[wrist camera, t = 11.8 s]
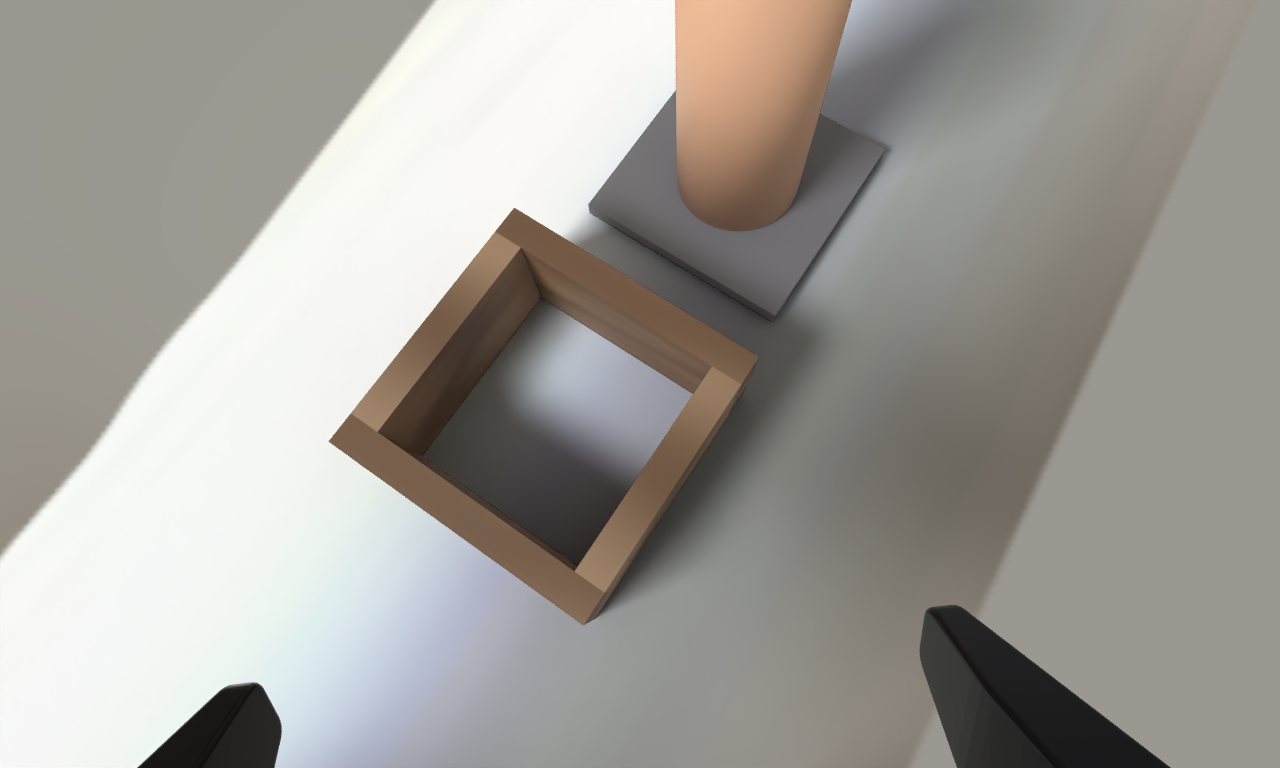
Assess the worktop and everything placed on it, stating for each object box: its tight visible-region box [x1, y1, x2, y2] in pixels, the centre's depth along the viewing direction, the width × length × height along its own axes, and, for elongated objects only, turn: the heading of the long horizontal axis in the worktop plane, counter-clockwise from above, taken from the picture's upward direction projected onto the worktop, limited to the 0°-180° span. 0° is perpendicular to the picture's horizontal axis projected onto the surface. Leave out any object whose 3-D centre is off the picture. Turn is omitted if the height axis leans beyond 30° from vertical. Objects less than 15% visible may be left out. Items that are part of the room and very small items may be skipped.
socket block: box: [329, 208, 759, 625], centre depth 22 cm, size 9×9×4 cm
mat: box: [588, 91, 885, 322], centre depth 26 cm, size 8×8×1 cm
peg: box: [675, 0, 852, 231], centre depth 20 cm, size 4×4×13 cm
